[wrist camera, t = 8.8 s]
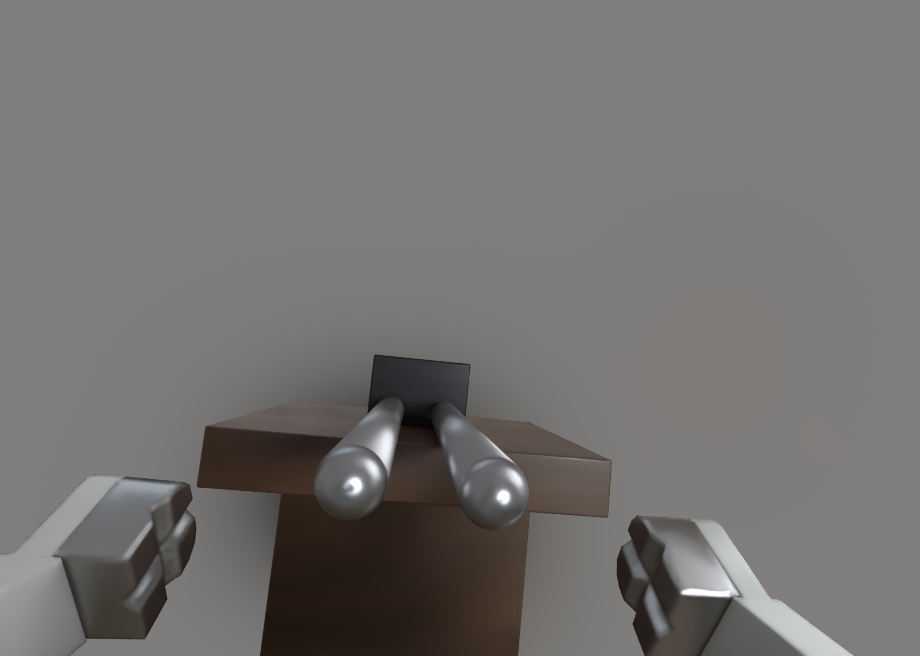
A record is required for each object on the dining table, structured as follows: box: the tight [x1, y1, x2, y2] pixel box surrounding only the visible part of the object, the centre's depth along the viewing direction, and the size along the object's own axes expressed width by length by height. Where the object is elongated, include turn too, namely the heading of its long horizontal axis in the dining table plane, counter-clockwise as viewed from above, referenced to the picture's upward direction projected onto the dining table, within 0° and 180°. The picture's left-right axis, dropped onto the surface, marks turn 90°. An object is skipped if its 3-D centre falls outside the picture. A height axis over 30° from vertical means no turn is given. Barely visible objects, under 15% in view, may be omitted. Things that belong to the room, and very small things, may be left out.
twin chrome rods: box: [314, 355, 529, 531], centre depth 16 cm, size 18×4×3 cm, turn 6°
